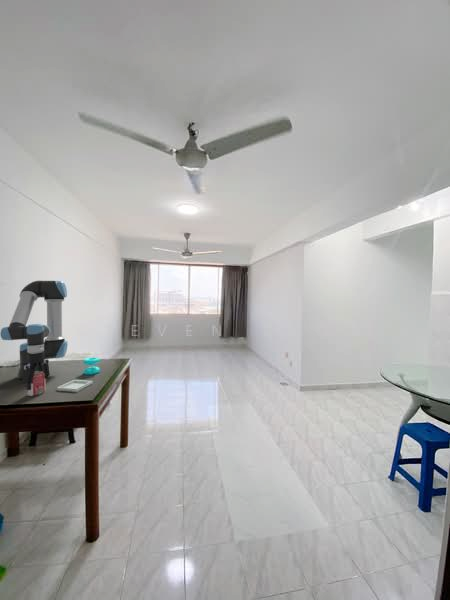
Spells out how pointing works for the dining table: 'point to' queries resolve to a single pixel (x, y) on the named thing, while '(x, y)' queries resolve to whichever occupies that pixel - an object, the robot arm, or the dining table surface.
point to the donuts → (90, 362)
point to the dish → (74, 385)
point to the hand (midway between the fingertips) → (37, 392)
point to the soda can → (38, 383)
